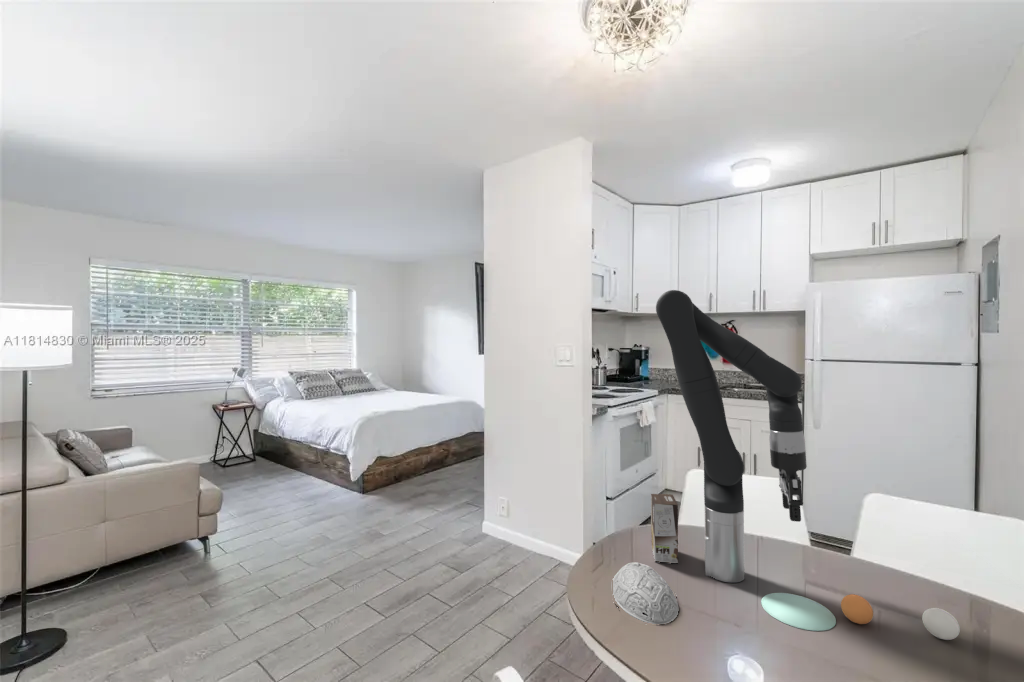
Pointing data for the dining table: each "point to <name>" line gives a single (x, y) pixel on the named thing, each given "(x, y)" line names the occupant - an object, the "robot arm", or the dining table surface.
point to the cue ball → (940, 623)
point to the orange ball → (857, 609)
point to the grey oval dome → (644, 594)
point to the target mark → (798, 611)
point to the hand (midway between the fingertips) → (791, 514)
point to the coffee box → (664, 527)
